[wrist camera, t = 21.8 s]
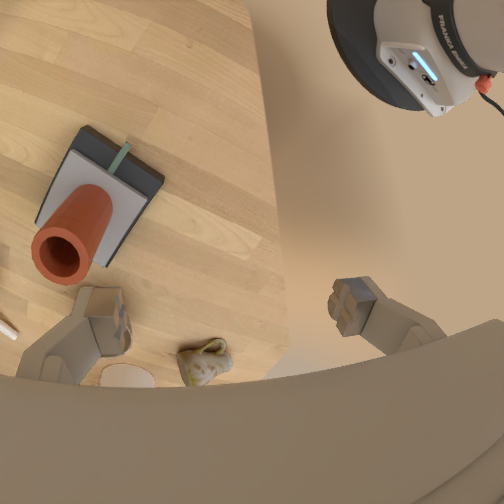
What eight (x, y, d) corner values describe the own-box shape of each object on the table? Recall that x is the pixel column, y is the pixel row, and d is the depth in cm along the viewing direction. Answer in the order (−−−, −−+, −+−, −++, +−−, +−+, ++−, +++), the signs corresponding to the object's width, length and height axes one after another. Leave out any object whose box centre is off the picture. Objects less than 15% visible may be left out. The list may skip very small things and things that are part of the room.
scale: (172, 167, 34) (171, 175, 31) (110, 258, 38) (105, 272, 35) (94, 114, 28) (85, 117, 25) (41, 215, 32) (31, 226, 29)
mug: (233, 362, 55) (215, 405, 48) (187, 342, 55) (165, 384, 48) (241, 345, 50) (221, 393, 43) (190, 323, 50) (165, 368, 43)
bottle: (164, 391, 56) (174, 500, 35) (115, 397, 54) (114, 500, 34) (143, 359, 49) (146, 487, 29) (89, 366, 48) (78, 484, 27)
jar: (121, 200, 31) (99, 249, 22) (99, 238, 32) (75, 295, 23) (81, 174, 28) (43, 214, 19) (61, 214, 30) (24, 264, 20)
